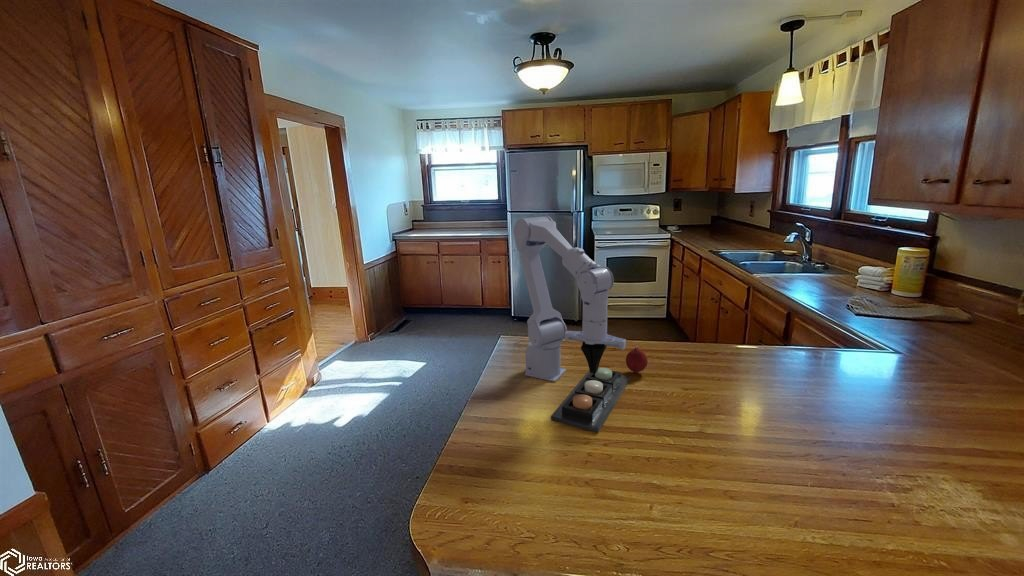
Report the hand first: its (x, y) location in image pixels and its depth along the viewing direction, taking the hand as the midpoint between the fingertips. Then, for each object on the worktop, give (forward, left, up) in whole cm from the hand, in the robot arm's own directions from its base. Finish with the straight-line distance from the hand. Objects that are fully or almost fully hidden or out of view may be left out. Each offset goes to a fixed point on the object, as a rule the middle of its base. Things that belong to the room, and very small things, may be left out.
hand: (593, 371), depth 100 cm
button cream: (0, 0, -6) cm, 6 cm away
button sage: (0, +8, -6) cm, 10 cm away
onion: (+6, +19, -8) cm, 21 cm away
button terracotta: (0, -8, -6) cm, 10 cm away
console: (0, 0, -7) cm, 7 cm away
